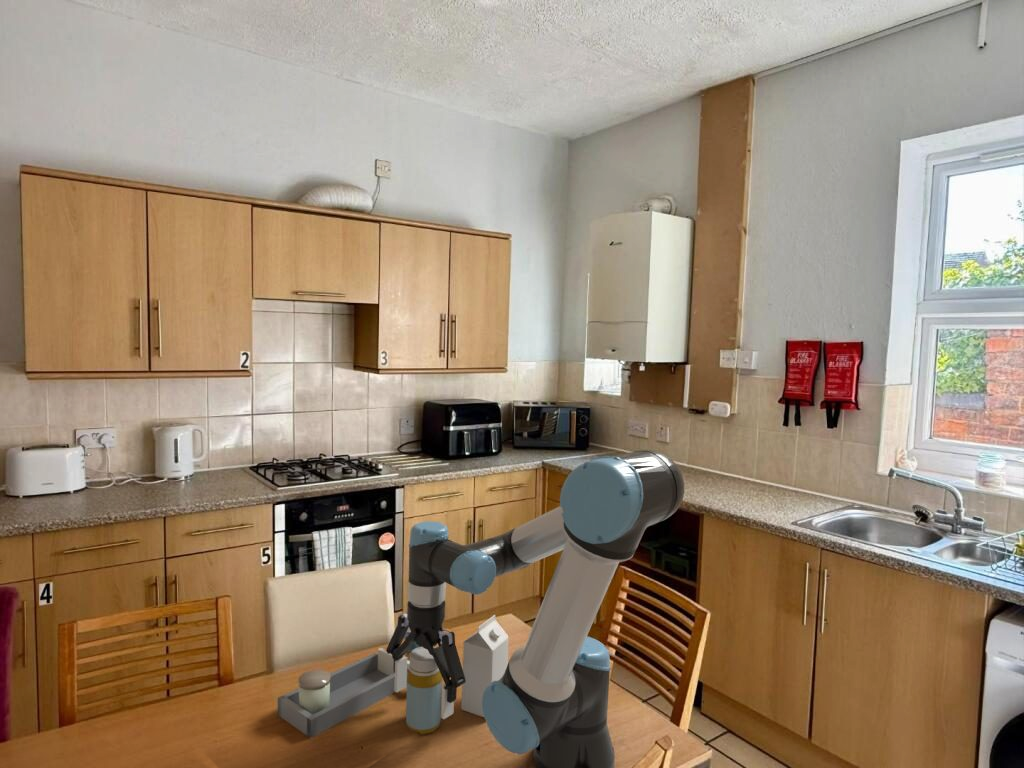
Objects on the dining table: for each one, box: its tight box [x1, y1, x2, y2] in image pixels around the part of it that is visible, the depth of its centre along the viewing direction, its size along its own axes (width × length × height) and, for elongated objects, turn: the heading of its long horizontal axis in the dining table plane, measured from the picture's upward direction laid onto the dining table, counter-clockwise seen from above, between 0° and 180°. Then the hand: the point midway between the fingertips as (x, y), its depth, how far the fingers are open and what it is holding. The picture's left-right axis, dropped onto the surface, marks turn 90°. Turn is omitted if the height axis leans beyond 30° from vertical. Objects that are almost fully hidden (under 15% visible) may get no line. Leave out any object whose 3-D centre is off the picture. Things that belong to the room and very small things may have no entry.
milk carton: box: [461, 614, 509, 719], centre depth 136 cm, size 7×7×19 cm
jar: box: [297, 669, 331, 715], centre depth 130 cm, size 6×6×8 cm
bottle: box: [405, 646, 443, 735], centre depth 129 cm, size 7×7×15 cm
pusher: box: [377, 647, 410, 676], centre depth 144 cm, size 15×3×5 cm, turn 52°
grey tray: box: [277, 652, 408, 739], centre depth 136 cm, size 11×25×4 cm, turn 142°
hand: (423, 702), depth 129 cm, fingers open, 13 cm apart
